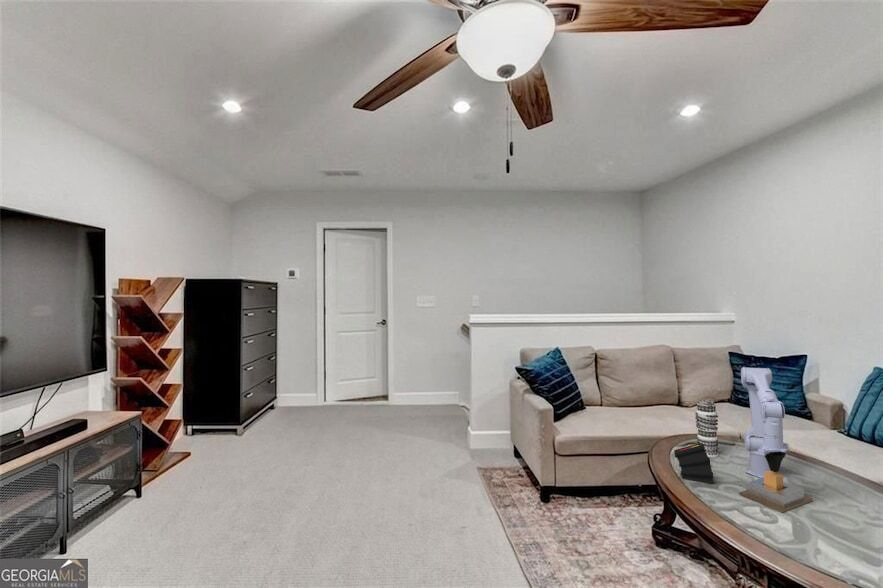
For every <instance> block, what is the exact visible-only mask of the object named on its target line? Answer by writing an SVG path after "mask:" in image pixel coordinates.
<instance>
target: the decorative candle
mask: <svg viewBox="0 0 883 588" xmlns="http://www.w3.org/2000/svg"><path fill="white" fill-rule="evenodd" d="M695 404H696V412H695V415H694V416H695V426H696V429H697V437H696V442H697V443H696V444H699V443H701V444H702V445H704V448H705V451H706V453H707V456H708V457H709V458H717V457H719V452H720V451H719V448H720V447H719V439H718V435H717V432H718V429H719V428H718V426H719V423H718V422H719V420H718V419H717V418H719V415H718V413H717V410H716V406H717V404H716V403H715V402H714V401H713V400H710V399H703V398H702V399H699V400H698V401H696V402H695Z"/></svg>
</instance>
